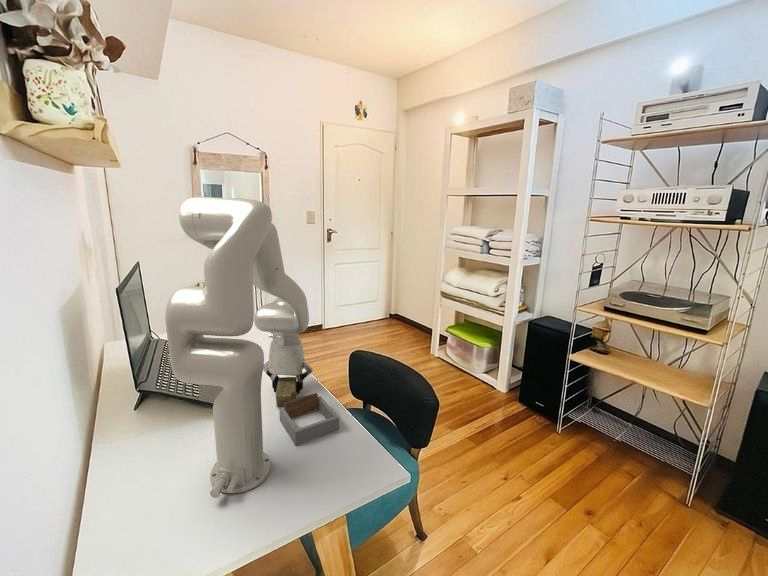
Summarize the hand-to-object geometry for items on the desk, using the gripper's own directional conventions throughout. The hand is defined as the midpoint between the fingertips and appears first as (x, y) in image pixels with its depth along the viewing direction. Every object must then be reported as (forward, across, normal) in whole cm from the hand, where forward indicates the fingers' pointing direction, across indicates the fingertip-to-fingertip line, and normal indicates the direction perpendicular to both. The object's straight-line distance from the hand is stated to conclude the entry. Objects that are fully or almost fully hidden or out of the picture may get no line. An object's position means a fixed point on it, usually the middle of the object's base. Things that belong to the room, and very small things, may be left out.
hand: (287, 390), depth 113 cm
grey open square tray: (+1, +11, -16) cm, 19 cm away
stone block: (+1, +1, -4) cm, 4 cm away
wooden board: (+1, +7, -11) cm, 13 cm away
